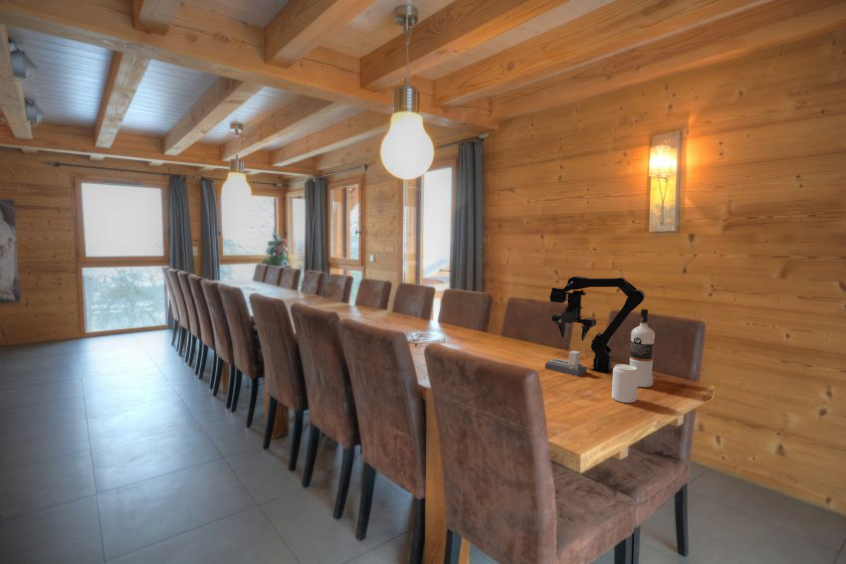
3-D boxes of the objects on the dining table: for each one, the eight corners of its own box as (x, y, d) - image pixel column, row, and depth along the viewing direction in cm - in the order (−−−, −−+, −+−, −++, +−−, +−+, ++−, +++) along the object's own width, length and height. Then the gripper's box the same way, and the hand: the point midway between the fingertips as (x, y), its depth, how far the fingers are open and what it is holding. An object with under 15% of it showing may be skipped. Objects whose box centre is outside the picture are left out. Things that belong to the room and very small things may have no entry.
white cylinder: (637, 405, 155) (639, 371, 154) (612, 402, 158) (614, 368, 156) (634, 397, 163) (636, 365, 162) (610, 394, 165) (612, 362, 164)
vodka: (657, 386, 175) (663, 310, 172) (642, 389, 171) (647, 311, 168) (636, 379, 184) (641, 306, 180) (621, 382, 179) (626, 308, 176)
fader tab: (579, 366, 192) (580, 351, 191) (575, 368, 189) (575, 353, 188) (573, 364, 194) (573, 350, 193) (568, 366, 191) (569, 352, 190)
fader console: (586, 372, 192) (586, 364, 192) (577, 376, 186) (578, 368, 186) (554, 364, 202) (554, 357, 202) (545, 368, 197) (545, 360, 196)
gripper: (546, 303, 200) (544, 338, 202) (586, 309, 187) (584, 345, 189) (558, 301, 208) (556, 334, 210) (597, 306, 195) (596, 341, 197)
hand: (572, 338), depth 201 cm, fingers open, 9 cm apart
